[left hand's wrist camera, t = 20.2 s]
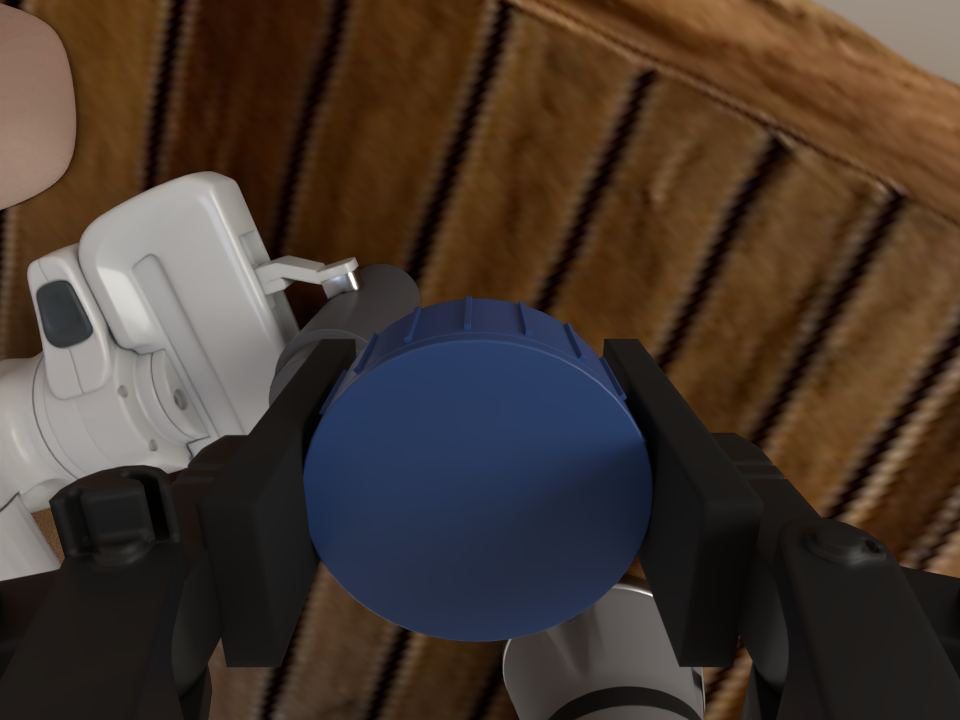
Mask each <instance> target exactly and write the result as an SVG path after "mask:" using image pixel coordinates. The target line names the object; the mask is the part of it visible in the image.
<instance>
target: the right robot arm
mask: <svg viewBox="0 0 960 720" xmlns="http://www.w3.org/2000/svg"><path fill="white" fill-rule="evenodd" d="M27 278H28V284H29V288H30V292H31V296H32V300H33V304H34V308H35V312H36V316H37V321H38V326H39V330H40V336H41V341H42V347H43V351H42V352H40V353H39V354H38V355H36V356H34V357H32V358H15V359H5V360H0V581H3V580H8V579H13V578H18V577H23V576H28V575H33V574H38V573H43V572H48V571H53V570H57V569H59V568H60V566H61V564H60V562H59V561H58V559H57V557H56V556H55V554H54V552H53V551H52V549H51V547H50V545H49V544H48V542H47V540H46V539H45V537H44V535H43V534H42V532H41V530H40V529H39V527H38V525H37V524H36V522H35V520H34V519H33V517H32V515H31V514H30V513H33V512H37V511H40V510H44V509H48V508H50V504H49V500H50V499H51V498H52V497H53V496H54V495H55V494H56V493H57V492H58V491H59V490H60V489H62V488H64V487H65V486H67V485H69V484H70V483H72V482H74V481H76V480H77V479H79V478H82V477H85V476H87V475H90V474H93V473H96V472H98V471H101V470H106V469H111V468H115V467H120V466H130V465H147V466H153V467H158V468H161V469H162V470H163V471H165V472H166V473H167V474H169V473H172V472H176V471H179V470H183V469H184V468H187V467H188V464H189V463H190V461H191V460H192V459H193V458H194V457H195V456H196V455H197V454H198V452H199V451H200V450H201V449H202V448H204V447H206V446H207V445H209V444H211V443H212V442H214V441H216V440H217V439H219V438H221V437H223V436H224V435H248V434H249V433H250V432H251V431H252V429H253V428H254V427H255V425H256V424H257V423H258V421H259V420H260V419H261V418H262V416H263V415H264V414H265V412H266V411H267V410H268V408H269V391H270V386H271V383H272V380H273V377H274V375H275V368H276V364H277V361H278V359H279V357H280V355H281V353H282V351H283V350H284V349H285V347H286V346H287V345H288V344H289V343H290V342H291V341H292V340H293V339H294V338H295V336H296V335H297V334H298V333H299V332H300V331H301V330H300V328H299V325H298V323H297V321H296V318H295V316H294V314H293V311H292V309H291V307H290V304H289V302H288V300H287V298H286V295H285V293H284V291H283V289H285V288H287V287H288V286H289V285H291V284H292V283H293V282H294V281H296V280H299V281H304V282H309V283H315V284H320V285H321V284H322V287H323V289H324V291H325V293H326V296H327V298H328V299H329V298H333V297H336V296H338V295H340V294H341V293H342V292H343V291H344V292H352V291H355V290H357V289H359V288H361V287H362V285H363V284H364V280H363V277H362V275H361V272H360V269H359V266H358V263H357V261H356V259H355V257H352V258H348V259H345V260H342V261H338V262H335V263H332V264H329V265H326V266H325V265H324V263H319V262H315V261H311V260H307V259H302V258H298V257H294V256H289V255H288V256H284V257H281V258H278V259H275V260H272V261H270V258H269V256H268V254H267V251H266V249H265V247H264V244H263V242H262V240H261V237H260V235H259V233H258V230H257V228H256V226H255V224H254V221H253V219H252V217H251V214H250V212H249V210H248V207H247V205H246V203H245V200H244V198H243V196H242V193H241V191H240V189H239V186H238V185H237V183H236V182H235V181H234V180H233V179H231V178H229V177H226V176H224V175H221V174H218V173H216V172H212V171H206V172H198V173H193V174H189V175H185V176H182V177H179V178H177V179H174V180H171V181H168V182H166V183H163V184H161V185H159V186H156V187H154V188H152V189H149V190H147V191H145V192H143V193H141V194H139V195H137V196H135V197H133V198H131V199H129V200H127V201H125V202H123V203H121V204H120V205H118V206H116V207H114V208H112V209H111V210H109V211H107V212H106V213H104V214H103V215H101V216H100V217H98V218H97V219H96V220H94V221H93V222H92V223H91V224H90V225H89V226H88V227H87V229H86V230H85V231H84V233H83V235H82V237H81V239H80V242H79V243H76V244H72V245H69V246H66V247H63V248H60V249H58V250H55V251H53V252H51V253H49V254H46V255H44V256H43V257H41V258H39V259H37V260H35V261H33V262H32V263H31V264H30V265H29V267H28V271H27Z"/></svg>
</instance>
